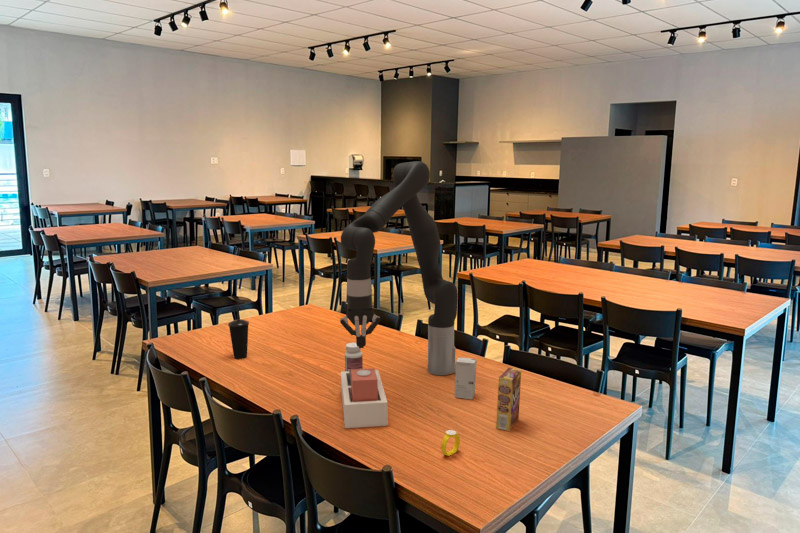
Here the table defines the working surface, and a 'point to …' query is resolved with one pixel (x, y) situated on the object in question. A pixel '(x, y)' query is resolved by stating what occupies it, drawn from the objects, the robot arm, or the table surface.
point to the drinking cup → (239, 337)
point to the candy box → (508, 399)
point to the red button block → (364, 385)
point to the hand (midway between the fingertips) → (361, 347)
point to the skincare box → (465, 378)
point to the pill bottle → (353, 357)
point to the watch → (443, 446)
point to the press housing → (363, 406)
